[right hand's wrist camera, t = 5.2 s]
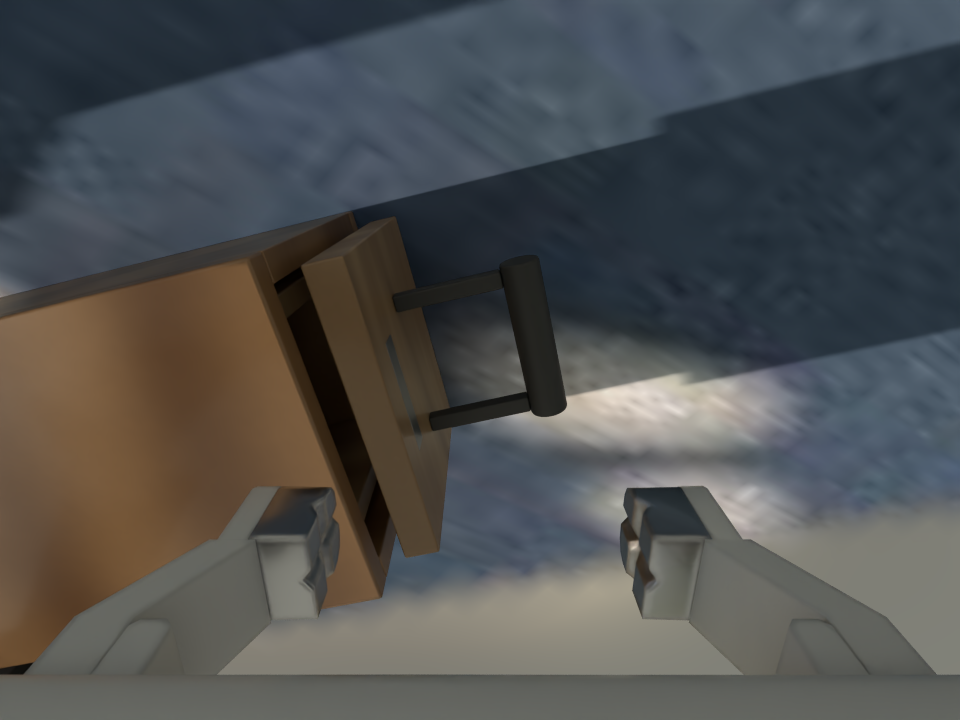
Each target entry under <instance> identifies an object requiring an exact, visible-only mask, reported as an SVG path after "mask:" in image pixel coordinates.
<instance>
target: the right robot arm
mask: <svg viewBox="0 0 960 720" xmlns="http://www.w3.org/2000/svg"><path fill="white" fill-rule="evenodd" d="M336 506H337V504H336V497H335V491H334V490H333V489H332V487H296V486H283V487H281V486H257V487H255V488H253V489H252V490H251V491H250V493H249V494H248V496H247V497H246V498H245V500H244V501H243V503H242V504H241V506H240V507H239V509H238V510H237V512H236V513H235V514H234V516H233V517H232V519H231V520H230V522H229V523H228V525H227V526H226V528H225V529H224V530H223V532H222V533H221V535H220V536H219V538H218V539H217V540H208V541H206V542H204V543H203V544H201V545H199V546H197V547H196V548H194V549H192V550H190V551H188V552H187V553H185V554H183V555H181V556H180V557H178V558H176V559H174V560H173V561H171V562H169V563H167V564H166V565H164V566H162V567H160V568H159V569H157V570H155V571H153V572H152V573H150V574H148V575H146V576H145V577H143V578H141V579H139V580H138V581H136V582H134V583H132V584H131V585H129V586H127V587H125V588H124V589H122V590H120V591H118V592H117V593H115V594H113V595H111V596H110V597H108V598H106V599H104V600H103V601H101V602H99V603H97V604H95V605H94V606H92V607H90V608H88V609H87V610H85V611H83V612H81V613H80V614H78V615H76V616H74V618H73V619H72V620H71V621H70V622H69V623H68V624H67V626H66V627H65V628H64V629H63V630H62V631H61V632H60V633H59V635H58V636H57V637H56V638H55V639H54V640H53V641H52V643H51V644H50V645H49V646H48V647H47V648H46V649H45V650H44V652H43V653H42V654H41V655H40V656H39V657H38V658H37V660H36V661H35V662H34V663H33V664H32V665H31V666H30V667H29V669H28V670H27V671H26V672H25V673H24V674H23V675H0V720H960V675H937V674H936V673H935V672H934V671H933V670H932V668H931V667H930V666H929V665H928V664H927V663H926V662H925V660H924V659H923V658H922V657H921V656H920V655H919V654H918V652H917V651H916V650H915V649H914V648H913V647H912V646H911V644H910V643H909V642H908V641H907V640H906V639H905V638H904V636H903V635H902V634H901V633H900V632H899V631H898V630H897V629H896V627H895V626H894V625H893V624H892V623H891V622H890V621H889V619H888V618H887V617H885V616H883V615H882V614H880V613H878V612H876V611H875V610H873V609H871V608H869V607H868V606H866V605H864V604H862V603H861V602H859V601H857V600H855V599H854V598H852V597H850V596H849V595H847V594H845V593H843V592H842V591H840V590H838V589H836V588H835V587H833V586H831V585H829V584H828V583H826V582H824V581H822V580H821V579H819V578H817V577H815V576H813V575H812V574H810V573H808V572H806V571H805V570H803V569H801V568H800V567H798V566H796V565H794V564H792V563H791V562H789V561H787V560H786V559H784V558H782V557H780V556H779V555H777V554H775V553H773V552H772V551H770V550H768V549H766V548H765V547H763V546H761V545H759V544H758V543H756V542H754V541H752V540H743V539H742V538H741V536H740V535H739V533H738V532H737V530H736V529H735V528H734V526H733V525H732V523H731V522H730V520H729V519H728V518H727V516H726V515H725V513H724V512H723V510H722V509H721V507H720V506H719V505H718V503H717V502H716V500H715V499H714V497H713V496H712V495H711V493H710V492H709V490H708V489H707V488H706V487H704V486H681V487H655V488H627V490H626V492H625V496H624V504H623V506H624V508H625V511H626V513H627V516H628V517H627V518H626V519H625V520H624V521H623V522H622V523H621V531H620V550H621V556H622V561H623V565H624V568H625V571H626V573H627V574H629V575H630V576H631V577H632V578H634V582H633V590H632V591H633V594H634V596H635V599H636V602H637V605H638V608H639V610H640V613H641V616H642V619H661V620H689V623H690V624H691V625H692V626H693V627H694V628H695V629H696V630H697V631H698V632H699V633H701V634H702V635H703V636H704V637H705V638H706V639H707V640H708V641H709V642H710V643H711V644H712V645H713V646H714V647H715V648H716V649H717V650H718V651H719V652H720V653H722V654H723V655H724V656H725V657H726V658H727V659H728V660H729V661H730V662H731V663H732V664H733V665H734V666H735V667H736V668H737V669H738V670H739V671H740V672H742V673H743V674H744V675H217V674H218V673H219V672H220V671H221V670H222V669H223V668H224V667H225V666H226V665H227V664H228V663H229V662H230V661H231V660H232V659H234V658H235V657H236V656H237V655H238V654H239V653H240V652H241V651H242V650H243V649H244V648H245V647H246V646H247V645H248V644H249V643H250V642H251V641H252V640H254V639H255V638H256V637H257V636H258V635H259V634H260V633H261V632H262V631H263V630H264V629H265V628H266V627H267V626H268V625H269V624H270V623H271V620H298V619H318V616H319V614H320V611H321V608H322V605H323V602H324V599H325V597H326V594H327V591H328V589H327V581H326V579H327V578H328V577H329V576H330V575H332V574H333V573H334V571H335V568H336V565H337V562H338V556H339V549H340V529H339V523H338V522H337V521H336V520H335V519H334V518H333V517H332V516H333V514H334V511H335V508H336Z"/></svg>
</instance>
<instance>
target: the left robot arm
mask: <svg viewBox="0 0 960 720" xmlns="http://www.w3.org/2000/svg"><path fill="white" fill-rule="evenodd" d="M33 663H34V662H33ZM33 663H28V664H23V665H17V666H12V667H6V668H1V669H0V675H23V674H24V673H25V672H26V671H27V670H28V669H29V667H30V666H31V665H32V664H33Z"/></svg>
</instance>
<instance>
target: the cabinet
mask: <svg viewBox="0 0 960 720" xmlns="http://www.w3.org/2000/svg"><path fill="white" fill-rule="evenodd" d="M357 230H358V229H357V225H356V222H355V219H354V216H353V213H352V211H348V212H344V213H340V214H336V215H332V216H328V217H324V218H320V219H316V220H312V221H308V222H304V223H300V224H296V225H292V226H288V227H284V228H280V229H276V230H272V231H268V232H264V233H260V234H256V235H251V236H247V237H243V238H239V239H235V240H231V241H227V242H223V243H219V244H215V245H211V246H207V247H203V248H199V249H195V250H191V251H187V252H183V253H179V254H175V255H171V256H167V257H163V258H159V259H155V260H151V261H147V262H142V263H138V264H134V265H130V266H126V267H122V268H118V269H114V270H110V271H106V272H102V273H98V274H94V275H90V276H86V277H82V278H78V279H74V280H70V281H66V282H62V283H58V284H54V285H50V286H46V287H42V288H38V289H33V290H29V291H25V292H21V293H17V294H13V295H9V296H5V297H1V298H0V669H1V668H6V667H12V666H17V665H23V664H28V663H33V662H35V661H36V660H37V658H38V657H39V656H40V655H41V654H42V653H43V652H44V650H45V649H46V648H47V647H48V646H49V645H50V644H51V643H52V641H53V640H54V639H55V638H56V637H57V636H58V635H59V633H60V632H61V631H62V630H63V629H64V628H65V627H66V626H67V624H68V623H69V622H70V621H71V620H72V619H73V618H74V616H76V615H78V614H80V613H81V612H83V611H85V610H87V609H88V608H90V607H92V606H94V605H95V604H97V603H99V602H101V601H103V600H104V599H106V598H108V597H110V596H111V595H113V594H115V593H117V592H118V591H120V590H122V589H124V588H125V587H127V586H129V585H131V584H132V583H134V582H136V581H138V580H139V579H141V578H143V577H145V576H146V575H148V574H150V573H152V572H153V571H155V570H157V569H159V568H160V567H162V566H164V565H166V564H167V563H169V562H171V561H173V560H174V559H176V558H178V557H180V556H181V555H183V554H185V553H187V552H188V551H190V550H192V549H194V548H196V547H197V546H199V545H201V544H203V543H204V542H206V541H208V540H217V539H218V538H219V536H220V535H221V533H222V532H223V530H224V529H225V528H226V526H227V525H228V523H229V522H230V520H231V519H232V517H233V516H234V514H235V513H236V512H237V510H238V509H239V507H240V506H241V504H242V503H243V501H244V500H245V498H246V497H247V496H248V494H249V493H250V491H251V490H252V489H253V488H255V487H257V486H281V487H283V486H296V487H332V489H333V490H334V491H335V497H336V504H337V506H336V508H335V511H334V514H333V516H332V517H333V518H334V519H335V520H336V521H337V522H338V523H339V529H340V549H339V556H338V562H337V565H336V568H335V571H334V573H333V574H332V575H330V576H329V577H328V578H327V579H326V581H327V589H328V591H327V594H326V597H325V599H324V602H323V605H322V608H321V609H326V608H331V607H337V606H342V605H348V604H353V603H358V602H364V601H369V600H375V599H380V598H381V597H382V595H383V590H384V586H385V581H386V576H387V573H388V569H389V564H390V559H391V555H392V550H393V546H394V541H395V536H396V530H395V528H394V525H393V522H392V519H391V516H390V514H389V511H388V508H387V505H386V503H385V500H384V497H383V494H382V491H381V489H380V486H379V483H378V480H377V481H376V484H375V488H374V491H373V494H372V497H371V500H370V504H369V507H368V510H367V513H366V516H365V520H364V519H363V517H362V514H361V511H360V509H359V506H358V504H357V501H356V498H355V496H354V493H353V491H352V488H351V485H350V483H349V480H348V477H347V475H346V472H345V470H344V467H343V464H342V462H341V459H340V457H339V454H338V451H337V449H336V446H335V444H334V441H333V438H332V436H331V433H330V431H329V428H328V425H327V423H326V420H325V417H324V415H323V412H322V410H321V407H320V404H319V402H318V399H317V397H316V394H315V391H314V389H313V386H312V384H311V381H310V378H309V376H308V373H307V371H306V368H305V365H304V363H303V360H302V358H301V355H300V352H299V350H298V347H297V344H296V342H295V339H294V337H293V334H292V331H291V329H290V326H289V324H288V321H287V318H286V316H285V313H284V311H283V308H282V305H281V303H280V300H279V298H278V295H277V292H276V290H275V287H274V285H273V284H274V283H276V282H277V281H279V280H281V279H282V278H284V277H285V276H287V275H289V274H290V273H292V272H293V271H295V270H296V269H298V268H300V267H301V265H302V264H304V263H306V262H307V261H309V260H310V259H312V258H314V257H315V256H317V255H318V254H320V253H322V252H323V251H325V250H326V249H328V248H330V247H331V246H333V245H334V244H336V243H338V242H339V241H341V240H342V239H344V238H346V237H347V236H349V235H350V234H352V233H354V232H355V231H357Z"/></svg>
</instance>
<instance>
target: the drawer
mask: <svg viewBox="0 0 960 720" xmlns="http://www.w3.org/2000/svg"><path fill="white" fill-rule="evenodd" d="M499 268H500V270H498V269H497V270H493V271H489V272H484V273H480V274H476V275H472V276H467V277H463V278H459V279H454V280H450V281H446V282H441V283H437V284H433V285H429V286H424V287H420V288H416V287H415V283H414V280H413V276H412V273H411V269H410V266H409V262H408V259H407V255H406V251H405V248H404V244H403V241H402V237H401V234H400V230H399V227H398V223H397V220H396V217H394V216H393V217H389V218H385V219H381V220H377V221H373V222H370V223H368V224H367V225H365V226H363V227H362V228H360V229H359V230H357V231H355V232H354V233H352V234H350V235H349V236H347V237H346V238H344V239H342V240H341V241H339V242H338V243H336V244H334V245H333V246H331V247H330V248H328V249H326V250H325V251H323V252H322V253H320V254H318V255H317V256H315V257H314V258H312V259H310V260H309V261H307V262H306V263H304V264H302V265H301V267H300V268H298V269H296V270H295V271H293V272H292V273H290V274H289V275H287V276H285V277H284V278H282V279H281V280H279V281H277V282H276V283H274V284H273V285H274V287H275V290H276V292H277V295H278V298H279V300H280V303H281V305H282V308H283V311H284V313H285V316H286V318H287V321H288V324H289V326H290V329H291V331H292V334H293V337H294V339H295V342H296V344H297V347H298V350H299V352H300V355H301V358H302V360H303V363H304V365H305V368H306V371H307V373H308V376H309V378H310V381H311V384H312V386H313V389H314V391H315V394H316V397H317V399H318V402H319V404H320V407H321V410H322V412H323V415H324V417H325V420H326V423H327V425H328V428H329V431H330V433H331V436H332V438H333V441H334V444H335V446H336V449H337V451H338V454H339V457H340V459H341V462H342V464H343V467H344V470H345V472H346V475H347V477H348V480H349V483H350V485H351V488H352V491H353V493H354V496H355V498H356V501H357V504H358V506H359V509H360V511H361V514H362V517H363V519H364V520H365V516H366V513H367V510H368V507H369V504H370V500H371V497H372V494H373V491H374V488H375V484H376V481H377V480H378V483H379V486H380V489H381V491H382V494H383V497H384V500H385V503H386V505H387V508H388V511H389V514H390V516H391V519H392V522H393V525H394V528H395V530H396V533H397V536H398V539H399V541H400V544H401V547H402V550H403V553H404V555H405V557H406V558H408V557H413V556H418V555H424V554H429V553H434V552H438V551H439V549H440V540H441V529H442V519H443V509H444V499H445V489H446V479H447V469H448V459H449V448H450V438H451V428H452V427H456V426H461V425H466V424H471V423H475V422H480V421H485V420H490V419H494V418H499V417H504V416H509V415H513V414H518V413H523V412H528V411H530V410H531V411H532V413H533V414H534V415H536V416H540V417H549V416H554V415H557V414H559V413H561V412H563V411H564V410H565V409H566V406H567V401H566V396H565V391H564V386H563V381H562V376H561V370H560V365H559V360H558V355H557V350H556V345H555V339H554V334H553V329H552V324H551V319H550V313H549V308H548V303H547V298H546V293H545V288H544V282H543V277H542V272H541V267H540V262H539V258H538V256H536V255H525V256H519V257H515V258H511V259H509V260H506V261H504V262H502V263H501V264H500V266H499ZM503 286H504V291H505V295H506V300H507V304H508V309H509V313H510V318H511V322H512V327H513V331H514V336H515V340H516V345H517V349H518V354H519V358H520V363H521V367H522V372H523V376H524V381H525V385H526V390H527V392H523V393H518V394H513V395H509V396H504V397H499V398H494V399H490V400H485V401H480V402H476V403H471V404H466V405H461V406H457V407H452V408H450V406H449V403H448V399H447V396H446V392H445V389H444V385H443V382H442V378H441V375H440V371H439V368H438V364H437V361H436V357H435V354H434V350H433V347H432V343H431V339H430V336H429V332H428V329H427V325H426V322H425V318H424V315H423V311H422V308H421V307H424V306H428V305H433V304H437V303H442V302H446V301H450V300H455V299H459V298H463V297H468V296H472V295H476V294H481V293H485V292H489V291H494V290H498V289H502V288H503Z"/></svg>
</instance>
